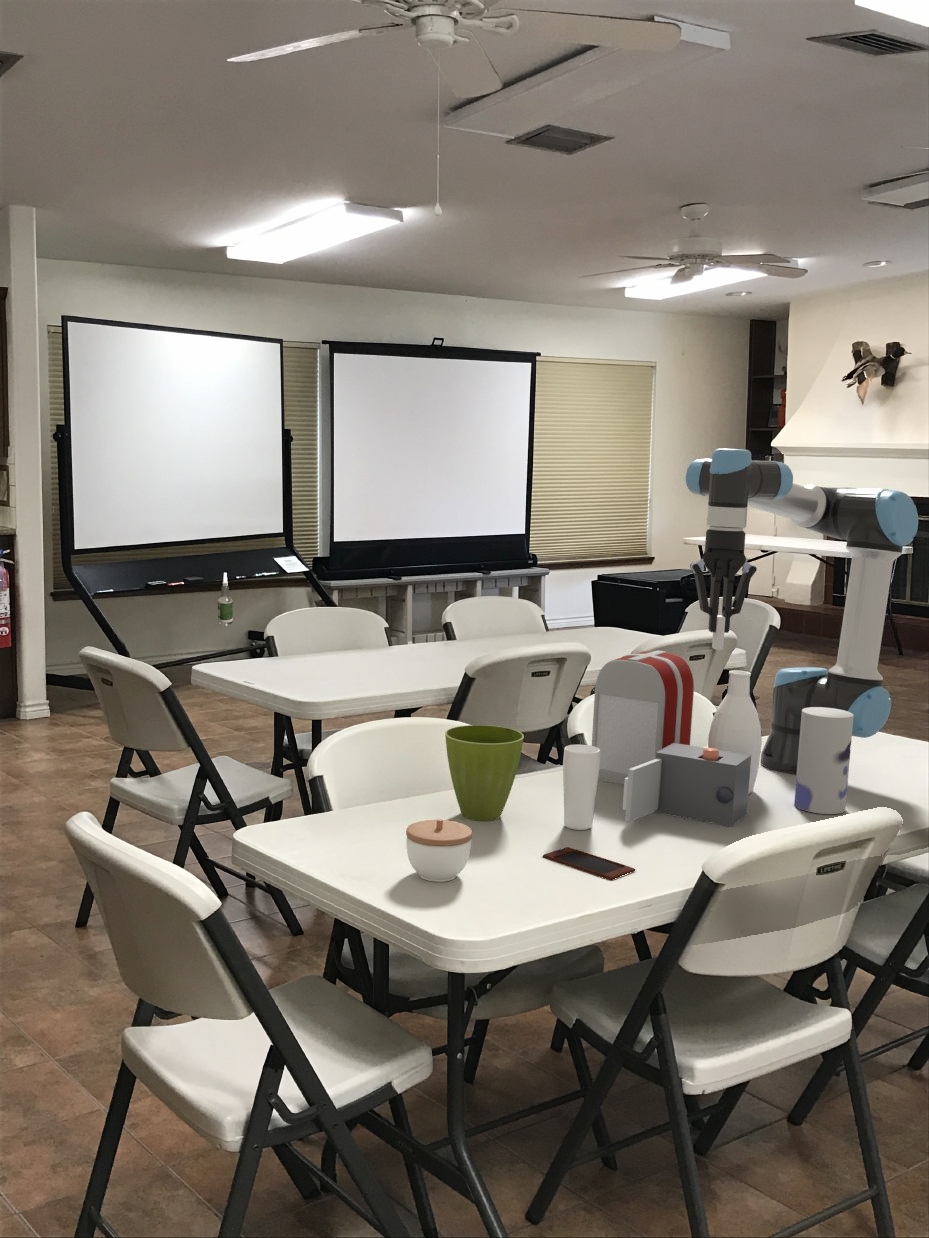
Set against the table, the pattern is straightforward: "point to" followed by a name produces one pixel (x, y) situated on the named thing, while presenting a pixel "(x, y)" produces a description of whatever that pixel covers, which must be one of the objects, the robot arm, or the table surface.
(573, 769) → the drinking glass
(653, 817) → the table surface
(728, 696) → the bottle
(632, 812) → the side door
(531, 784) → the table surface
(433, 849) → the lidded jar
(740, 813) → the box
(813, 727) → the container
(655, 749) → the striped box
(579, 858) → the smartphone
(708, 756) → the latch button
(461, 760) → the flower pot
